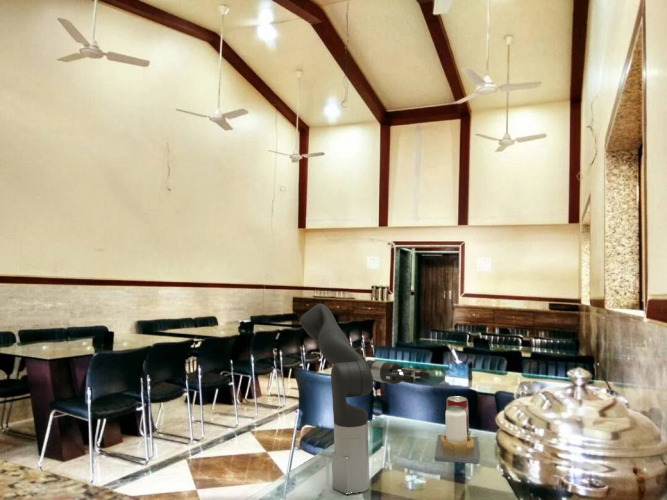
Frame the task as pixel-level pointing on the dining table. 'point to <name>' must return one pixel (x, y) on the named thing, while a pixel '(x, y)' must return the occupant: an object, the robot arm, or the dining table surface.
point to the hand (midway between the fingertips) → (421, 377)
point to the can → (456, 424)
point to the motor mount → (457, 450)
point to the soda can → (459, 402)
